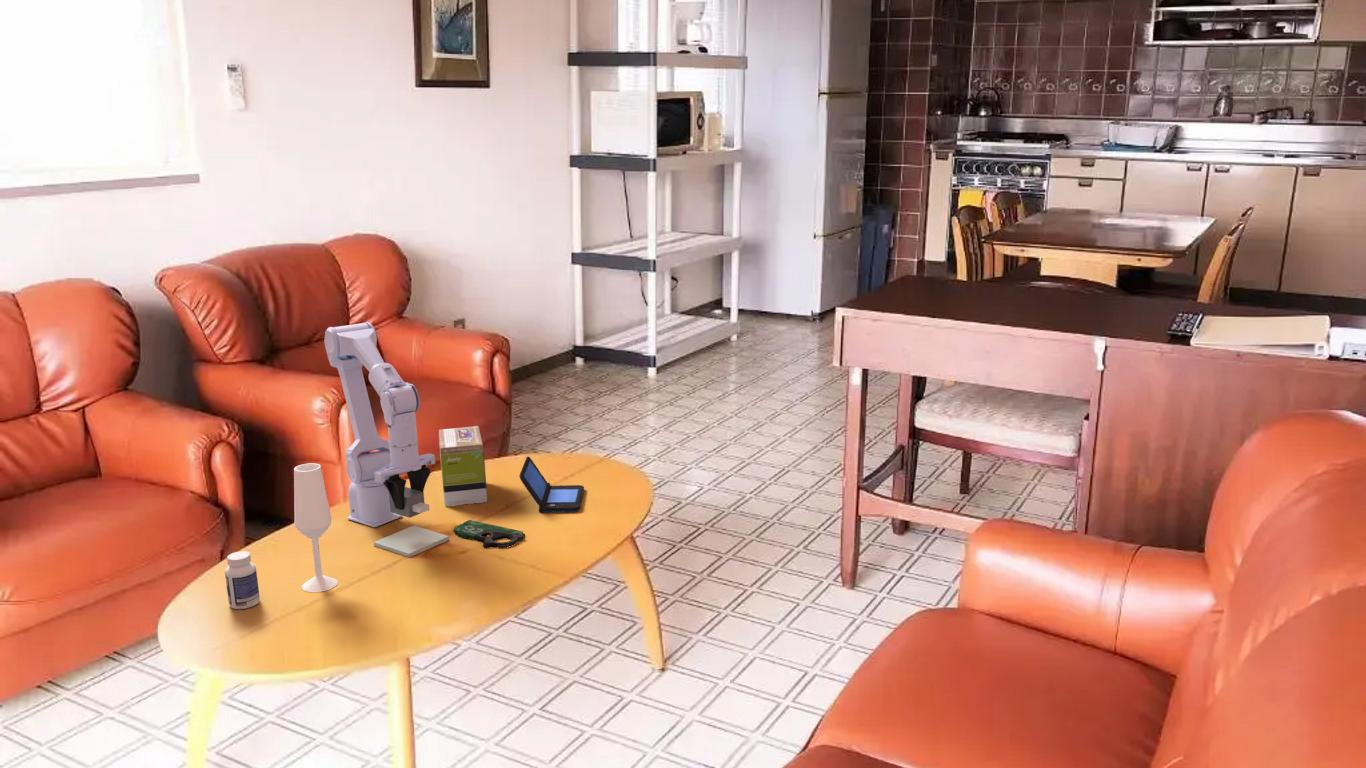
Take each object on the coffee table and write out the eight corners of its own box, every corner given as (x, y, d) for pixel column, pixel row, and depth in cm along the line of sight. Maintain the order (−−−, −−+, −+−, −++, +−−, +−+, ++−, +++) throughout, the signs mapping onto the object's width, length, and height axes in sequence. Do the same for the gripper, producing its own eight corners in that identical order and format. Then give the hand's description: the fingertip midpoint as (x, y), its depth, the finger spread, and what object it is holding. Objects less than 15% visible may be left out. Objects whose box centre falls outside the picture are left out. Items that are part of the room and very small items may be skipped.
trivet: (373, 545, 228) (373, 542, 228) (413, 528, 237) (413, 525, 237) (409, 557, 222) (408, 553, 222) (449, 539, 231) (448, 536, 231)
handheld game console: (579, 513, 245) (578, 475, 243) (520, 515, 245) (518, 476, 243) (584, 489, 260) (583, 453, 258) (528, 490, 260) (526, 454, 258)
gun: (440, 533, 232) (470, 518, 240) (441, 540, 232) (471, 524, 241) (501, 547, 224) (530, 531, 233) (501, 554, 224) (530, 537, 233)
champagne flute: (298, 593, 207) (285, 474, 200) (305, 578, 213) (292, 462, 207) (335, 590, 207) (322, 472, 201) (340, 576, 214) (328, 460, 208)
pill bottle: (266, 599, 204) (260, 551, 202) (246, 611, 199) (240, 562, 197) (243, 595, 206) (237, 548, 204) (222, 607, 201) (216, 559, 199)
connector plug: (390, 512, 228) (388, 492, 227) (405, 506, 232) (404, 486, 231) (417, 520, 224) (416, 500, 223) (433, 513, 227) (431, 494, 226)
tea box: (442, 486, 264) (437, 428, 260) (484, 482, 266) (480, 424, 262) (444, 507, 250) (439, 446, 246) (488, 503, 252) (484, 442, 248)
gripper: (388, 455, 216) (394, 519, 220) (443, 437, 228) (447, 498, 231) (365, 450, 220) (371, 512, 224) (420, 432, 232) (424, 492, 235)
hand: (408, 505), depth 228 cm, fingers closed on connector plug, 4 cm apart
